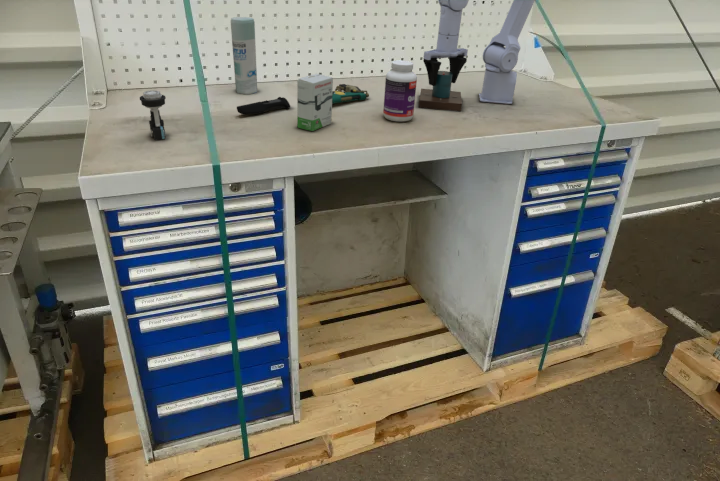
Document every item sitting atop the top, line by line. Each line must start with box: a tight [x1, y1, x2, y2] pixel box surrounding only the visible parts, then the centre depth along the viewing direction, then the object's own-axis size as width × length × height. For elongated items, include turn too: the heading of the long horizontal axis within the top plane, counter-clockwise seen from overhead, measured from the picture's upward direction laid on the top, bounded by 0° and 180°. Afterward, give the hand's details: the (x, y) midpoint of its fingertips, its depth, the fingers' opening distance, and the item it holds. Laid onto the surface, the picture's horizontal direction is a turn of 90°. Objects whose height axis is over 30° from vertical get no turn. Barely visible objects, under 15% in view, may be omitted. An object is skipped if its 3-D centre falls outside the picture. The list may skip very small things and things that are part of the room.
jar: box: [431, 70, 453, 98], centre depth 151 cm, size 5×5×7 cm
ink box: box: [296, 73, 334, 132], centre depth 129 cm, size 9×5×12 cm, turn 148°
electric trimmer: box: [236, 96, 291, 116], centre depth 138 cm, size 4×16×3 cm, turn 133°
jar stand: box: [418, 88, 463, 112], centre depth 154 cm, size 13×12×2 cm
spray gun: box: [332, 83, 370, 105], centre depth 152 cm, size 4×17×15 cm
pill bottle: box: [382, 59, 418, 123], centre depth 136 cm, size 8×8×14 cm
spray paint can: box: [230, 16, 258, 95], centre depth 150 cm, size 6×6×20 cm
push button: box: [139, 90, 167, 141], centre depth 118 cm, size 7×5×10 cm
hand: (442, 83), depth 151 cm, fingers open, 7 cm apart
